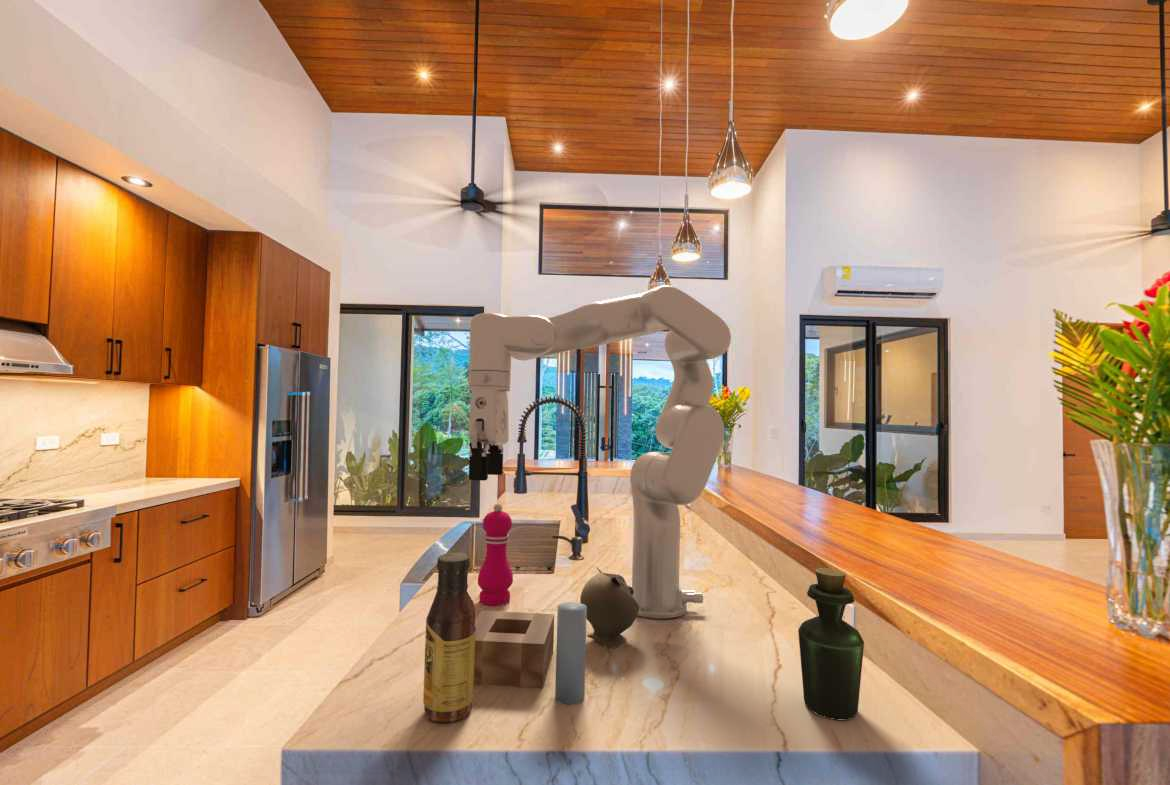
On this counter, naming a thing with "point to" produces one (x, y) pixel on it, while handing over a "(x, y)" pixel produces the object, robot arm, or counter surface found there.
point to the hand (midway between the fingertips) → (486, 477)
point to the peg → (570, 653)
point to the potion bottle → (831, 650)
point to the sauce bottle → (450, 643)
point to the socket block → (513, 648)
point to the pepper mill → (496, 559)
